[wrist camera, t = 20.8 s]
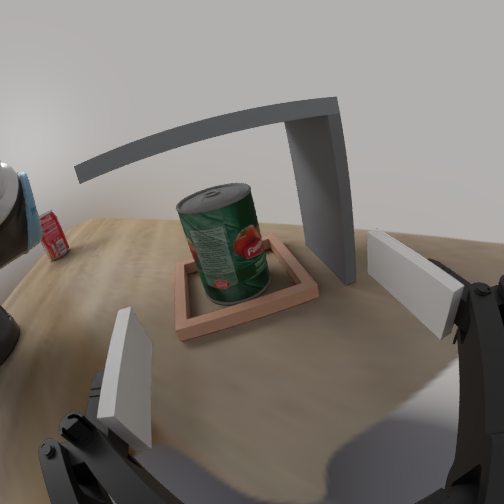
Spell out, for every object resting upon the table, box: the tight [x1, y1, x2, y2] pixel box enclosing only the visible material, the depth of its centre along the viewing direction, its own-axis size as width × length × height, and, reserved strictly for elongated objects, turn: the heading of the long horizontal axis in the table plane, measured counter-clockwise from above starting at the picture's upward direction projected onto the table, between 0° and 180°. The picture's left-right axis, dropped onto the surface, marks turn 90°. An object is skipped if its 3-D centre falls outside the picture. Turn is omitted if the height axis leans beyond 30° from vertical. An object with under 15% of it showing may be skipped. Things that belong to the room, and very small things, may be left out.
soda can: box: [39, 210, 69, 260], centre depth 59 cm, size 7×7×12 cm
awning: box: [74, 97, 356, 285], centre depth 28 cm, size 22×12×18 cm, turn 104°
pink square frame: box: [175, 233, 319, 341], centre depth 33 cm, size 14×14×2 cm
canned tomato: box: [176, 183, 271, 305], centre depth 31 cm, size 8×8×11 cm
